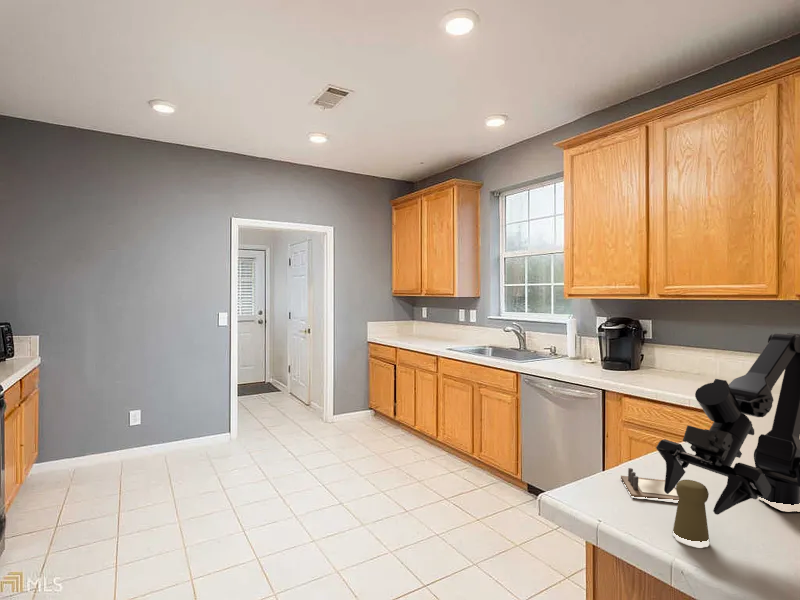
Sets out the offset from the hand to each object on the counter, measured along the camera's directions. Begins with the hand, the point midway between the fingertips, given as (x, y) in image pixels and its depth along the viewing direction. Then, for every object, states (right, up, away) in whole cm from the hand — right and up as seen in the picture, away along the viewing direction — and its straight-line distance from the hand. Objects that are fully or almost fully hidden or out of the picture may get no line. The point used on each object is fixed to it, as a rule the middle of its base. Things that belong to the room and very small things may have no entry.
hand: (689, 502), depth 86 cm
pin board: (+5, -7, +21) cm, 23 cm away
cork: (+1, -8, 0) cm, 8 cm away
